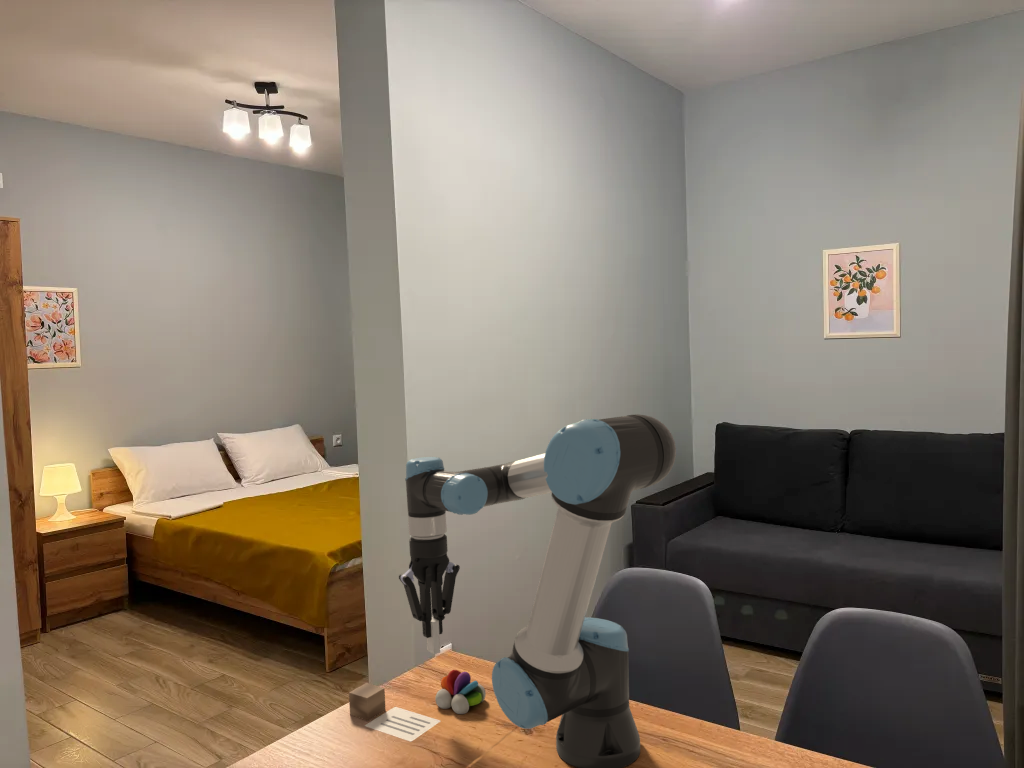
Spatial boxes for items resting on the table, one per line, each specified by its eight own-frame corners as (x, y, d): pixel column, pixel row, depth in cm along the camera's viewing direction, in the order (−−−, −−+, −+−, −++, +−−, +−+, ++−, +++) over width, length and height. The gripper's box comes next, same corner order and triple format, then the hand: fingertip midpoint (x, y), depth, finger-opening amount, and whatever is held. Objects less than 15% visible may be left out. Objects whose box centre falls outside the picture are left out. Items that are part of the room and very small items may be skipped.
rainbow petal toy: (456, 692, 161) (455, 658, 161) (492, 703, 155) (491, 669, 155) (429, 708, 154) (428, 673, 154) (466, 720, 149) (465, 684, 148)
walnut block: (385, 712, 153) (384, 688, 153) (368, 722, 149) (367, 698, 149) (367, 706, 156) (366, 682, 156) (350, 716, 152) (348, 692, 152)
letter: (441, 722, 148) (441, 720, 148) (411, 743, 140) (411, 741, 140) (395, 708, 155) (395, 706, 155) (364, 727, 147) (364, 725, 147)
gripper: (446, 526, 157) (452, 638, 158) (389, 537, 150) (396, 654, 151) (465, 532, 151) (471, 648, 152) (407, 544, 144) (413, 666, 145)
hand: (433, 651), depth 151 cm, fingers closed
